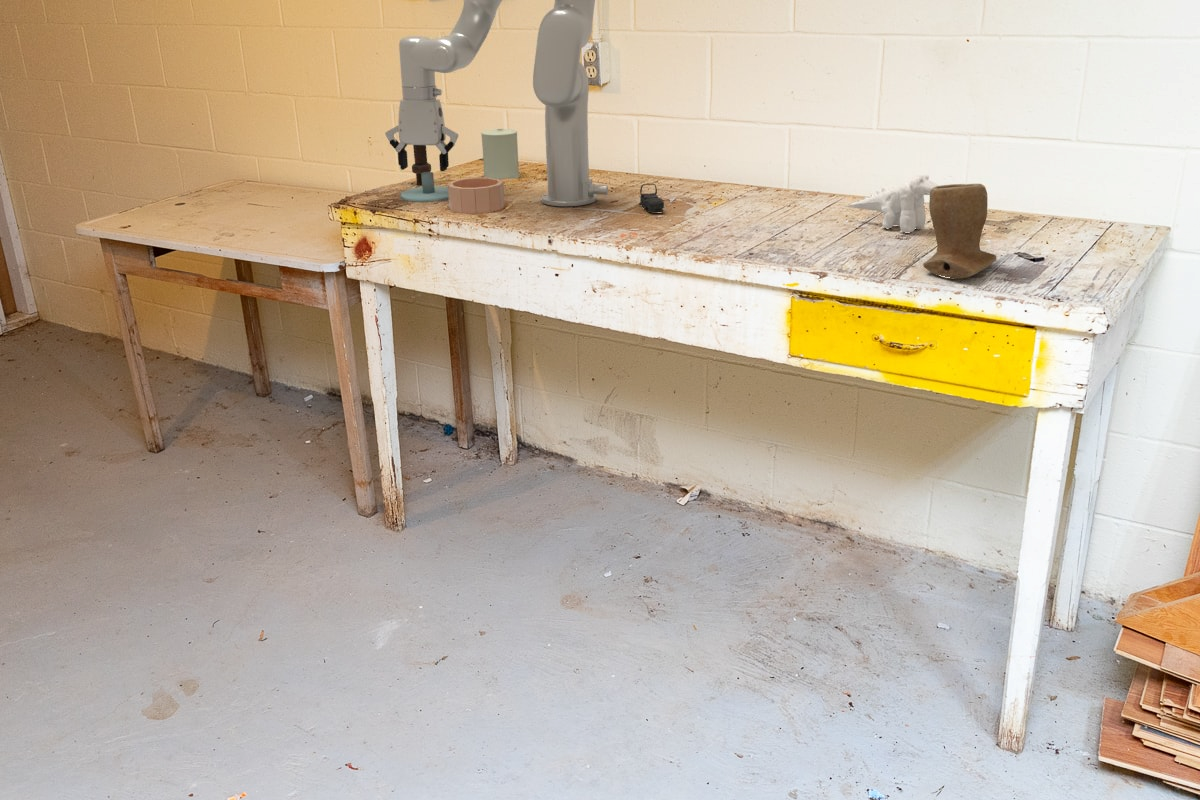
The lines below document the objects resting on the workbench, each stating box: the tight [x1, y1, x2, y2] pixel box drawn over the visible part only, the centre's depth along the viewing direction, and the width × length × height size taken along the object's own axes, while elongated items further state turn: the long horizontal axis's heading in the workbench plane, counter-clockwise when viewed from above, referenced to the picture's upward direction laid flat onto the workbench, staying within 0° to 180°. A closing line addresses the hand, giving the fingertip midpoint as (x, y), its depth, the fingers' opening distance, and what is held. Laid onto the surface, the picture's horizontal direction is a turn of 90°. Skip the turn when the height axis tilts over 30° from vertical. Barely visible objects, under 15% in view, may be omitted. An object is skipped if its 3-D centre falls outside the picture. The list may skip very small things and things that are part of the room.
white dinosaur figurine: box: [844, 174, 940, 233], centre depth 208 cm, size 7×24×11 cm, turn 45°
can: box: [480, 128, 521, 180], centre depth 266 cm, size 9×9×12 cm
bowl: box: [446, 177, 506, 215], centre depth 234 cm, size 12×12×6 cm
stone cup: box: [922, 183, 997, 280], centre depth 180 cm, size 15×12×15 cm
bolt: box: [411, 145, 432, 186], centre depth 257 cm, size 6×5×15 cm
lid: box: [400, 171, 448, 203], centre depth 246 cm, size 13×13×5 cm
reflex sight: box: [638, 183, 665, 213], centre depth 230 cm, size 4×10×5 cm, turn 9°
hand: (423, 169), depth 245 cm, fingers open, 9 cm apart
